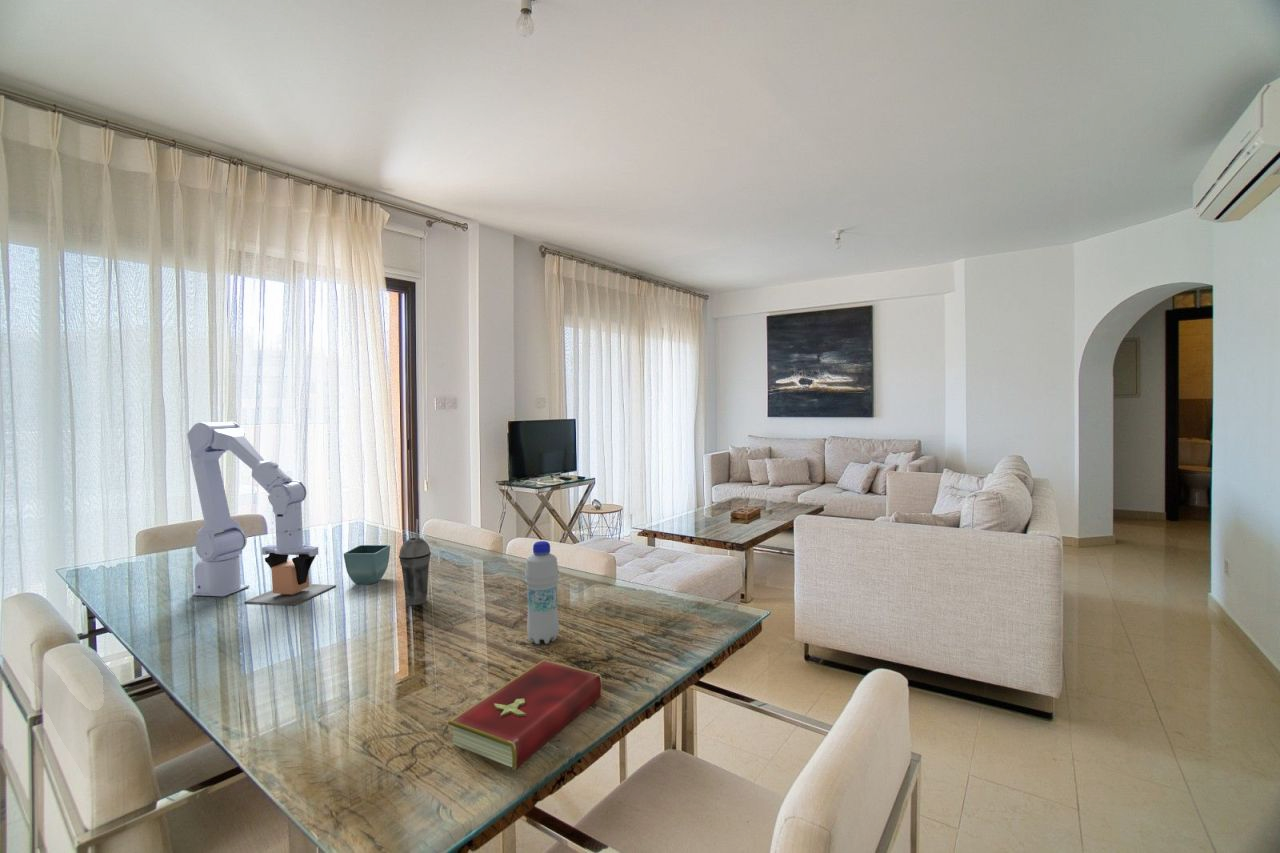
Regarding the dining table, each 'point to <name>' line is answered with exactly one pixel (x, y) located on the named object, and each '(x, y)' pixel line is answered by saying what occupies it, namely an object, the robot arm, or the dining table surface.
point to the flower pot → (367, 563)
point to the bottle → (542, 594)
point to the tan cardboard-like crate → (286, 579)
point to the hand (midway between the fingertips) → (291, 582)
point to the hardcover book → (526, 712)
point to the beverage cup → (415, 568)
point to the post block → (290, 596)
